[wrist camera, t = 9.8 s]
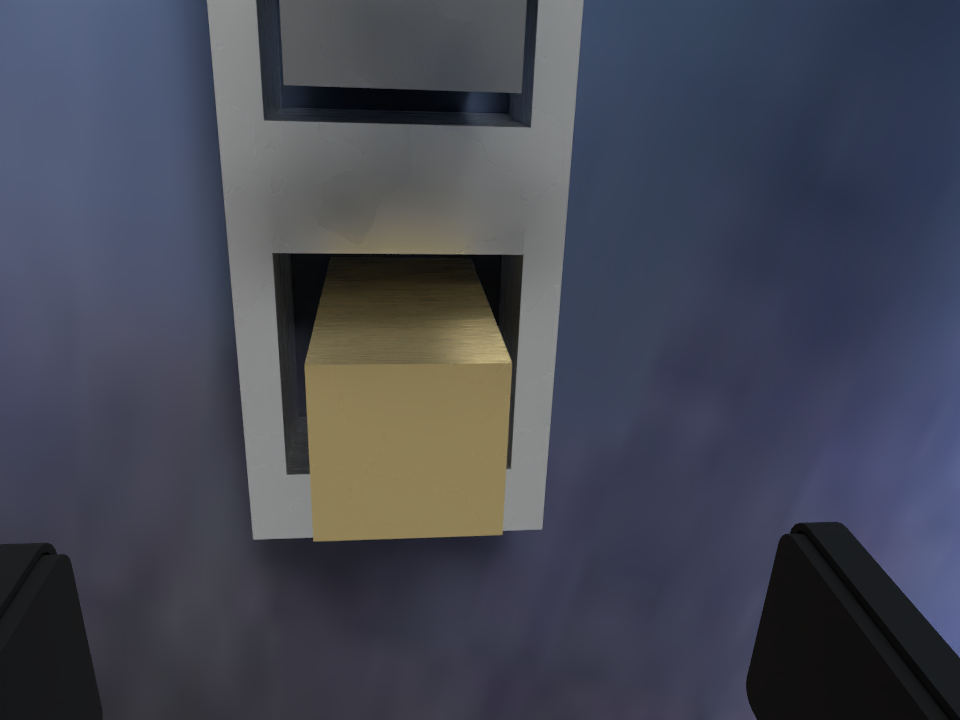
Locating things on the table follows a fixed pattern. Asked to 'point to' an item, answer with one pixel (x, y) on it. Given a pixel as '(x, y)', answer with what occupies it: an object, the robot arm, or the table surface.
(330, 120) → the grey block holder tray
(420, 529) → the brass block
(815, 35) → the table surface
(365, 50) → the seated steel block
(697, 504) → the table surface
